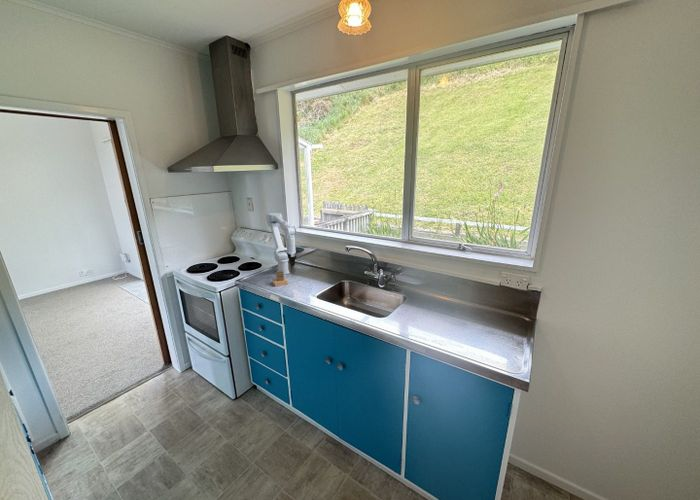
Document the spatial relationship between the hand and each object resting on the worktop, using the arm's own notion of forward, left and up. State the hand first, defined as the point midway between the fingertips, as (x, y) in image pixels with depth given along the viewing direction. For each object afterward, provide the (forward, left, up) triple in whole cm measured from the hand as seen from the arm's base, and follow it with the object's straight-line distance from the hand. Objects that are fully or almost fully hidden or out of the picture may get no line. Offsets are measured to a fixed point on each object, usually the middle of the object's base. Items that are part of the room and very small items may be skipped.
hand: (292, 264), depth 190 cm
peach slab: (+7, -9, -10) cm, 16 cm away
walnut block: (+7, -9, -7) cm, 13 cm away
